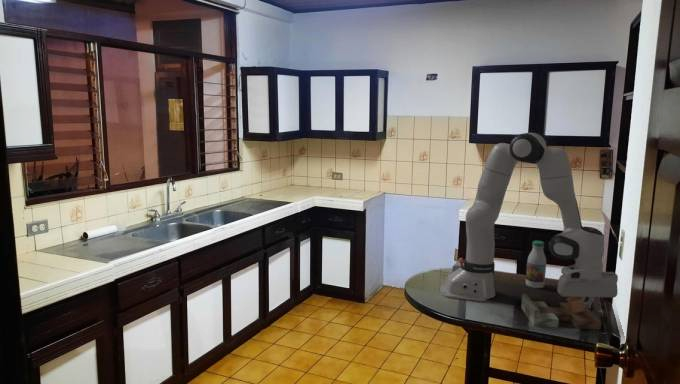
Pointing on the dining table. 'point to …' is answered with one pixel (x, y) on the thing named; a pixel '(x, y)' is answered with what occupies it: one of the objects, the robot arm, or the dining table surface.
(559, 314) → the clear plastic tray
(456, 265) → the charger
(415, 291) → the dining table surface
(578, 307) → the terracotta cube
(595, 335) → the dining table surface
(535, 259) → the milk bottle
